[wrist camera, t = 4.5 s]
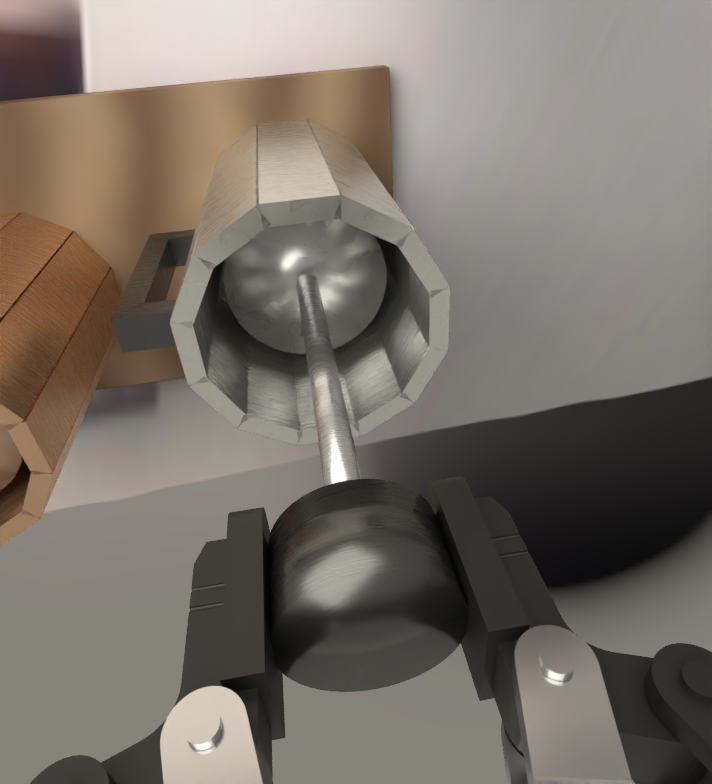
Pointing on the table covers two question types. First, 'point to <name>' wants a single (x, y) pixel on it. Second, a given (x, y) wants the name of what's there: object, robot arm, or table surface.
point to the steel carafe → (239, 348)
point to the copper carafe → (47, 352)
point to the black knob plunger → (8, 458)
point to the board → (164, 163)
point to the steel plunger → (342, 482)
